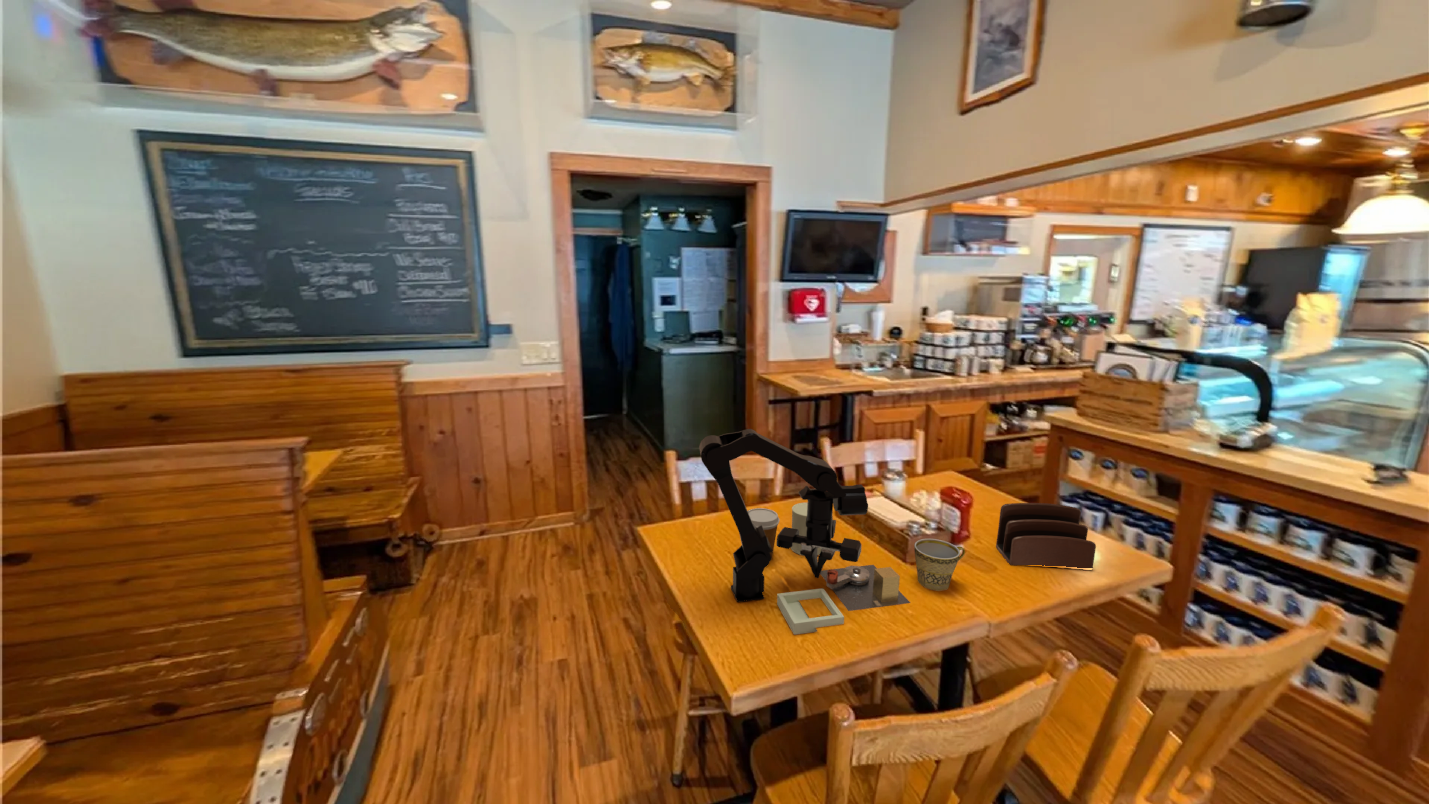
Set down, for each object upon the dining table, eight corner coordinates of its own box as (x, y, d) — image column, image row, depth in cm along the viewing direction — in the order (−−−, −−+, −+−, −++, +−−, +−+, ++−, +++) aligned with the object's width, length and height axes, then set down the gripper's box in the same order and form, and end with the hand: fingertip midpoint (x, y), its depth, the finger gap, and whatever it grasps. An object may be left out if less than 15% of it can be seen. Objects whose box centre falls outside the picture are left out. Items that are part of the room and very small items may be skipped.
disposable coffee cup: (756, 544, 147) (756, 504, 145) (785, 555, 142) (786, 513, 139) (735, 558, 140) (735, 515, 138) (765, 570, 134) (766, 526, 132)
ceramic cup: (928, 601, 121) (932, 561, 119) (902, 578, 130) (905, 541, 128) (976, 592, 124) (980, 553, 122) (947, 571, 134) (951, 534, 132)
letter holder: (995, 547, 146) (1000, 499, 143) (1073, 552, 143) (1080, 504, 140) (1009, 566, 137) (1015, 515, 134) (1093, 572, 134) (1101, 520, 131)
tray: (793, 634, 109) (794, 623, 109) (777, 604, 120) (777, 593, 119) (843, 627, 111) (844, 616, 111) (822, 598, 122) (823, 588, 121)
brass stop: (881, 602, 119) (883, 577, 118) (872, 592, 123) (874, 568, 121) (897, 600, 120) (899, 576, 118) (888, 590, 123) (890, 567, 122)
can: (827, 556, 141) (829, 514, 138) (792, 556, 141) (794, 514, 139) (821, 540, 150) (823, 500, 147) (788, 540, 150) (789, 500, 148)
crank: (855, 567, 132) (856, 554, 131) (874, 578, 127) (875, 564, 126) (819, 581, 126) (819, 567, 125) (837, 593, 121) (838, 579, 120)
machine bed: (848, 614, 116) (848, 608, 116) (817, 574, 132) (818, 569, 132) (910, 606, 119) (910, 600, 119) (873, 568, 135) (873, 562, 135)
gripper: (866, 508, 125) (863, 569, 128) (789, 496, 132) (788, 553, 135) (859, 527, 115) (855, 592, 118) (776, 513, 122) (775, 575, 126)
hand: (817, 577), depth 125 cm, fingers closed
